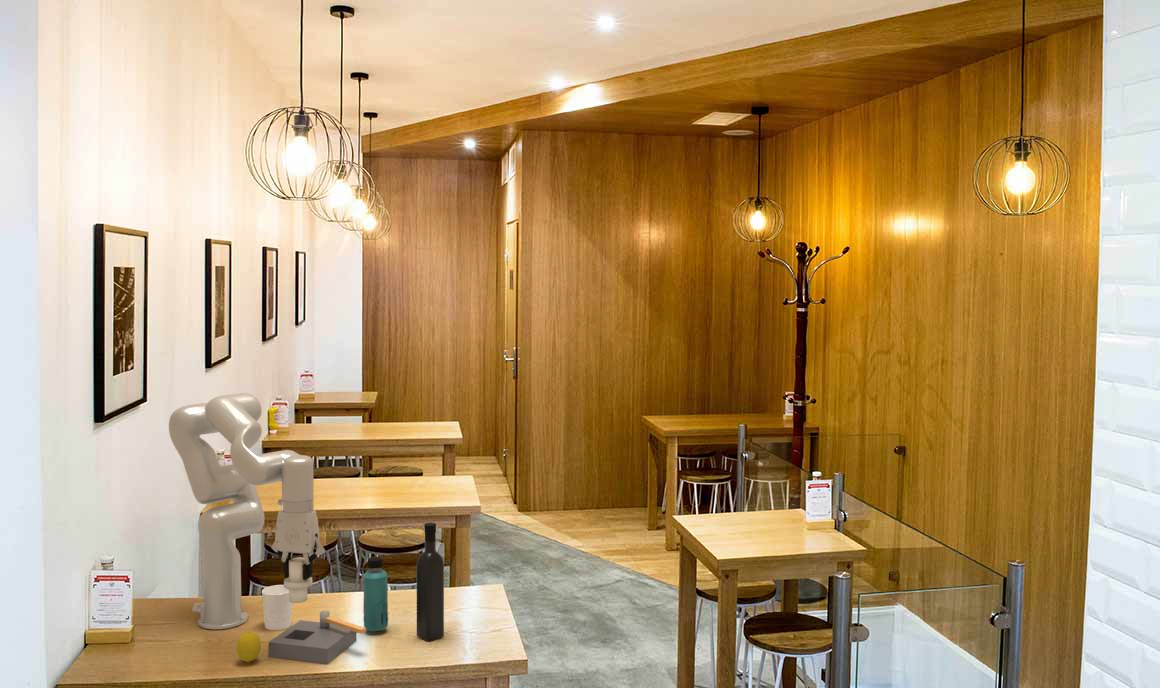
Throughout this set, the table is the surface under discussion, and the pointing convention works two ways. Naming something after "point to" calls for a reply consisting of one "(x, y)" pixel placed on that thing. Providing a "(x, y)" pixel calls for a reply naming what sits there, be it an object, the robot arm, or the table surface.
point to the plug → (297, 581)
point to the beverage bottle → (375, 596)
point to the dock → (311, 642)
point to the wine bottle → (430, 588)
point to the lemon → (248, 646)
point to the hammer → (338, 623)
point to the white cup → (276, 607)
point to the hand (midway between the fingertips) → (298, 576)
